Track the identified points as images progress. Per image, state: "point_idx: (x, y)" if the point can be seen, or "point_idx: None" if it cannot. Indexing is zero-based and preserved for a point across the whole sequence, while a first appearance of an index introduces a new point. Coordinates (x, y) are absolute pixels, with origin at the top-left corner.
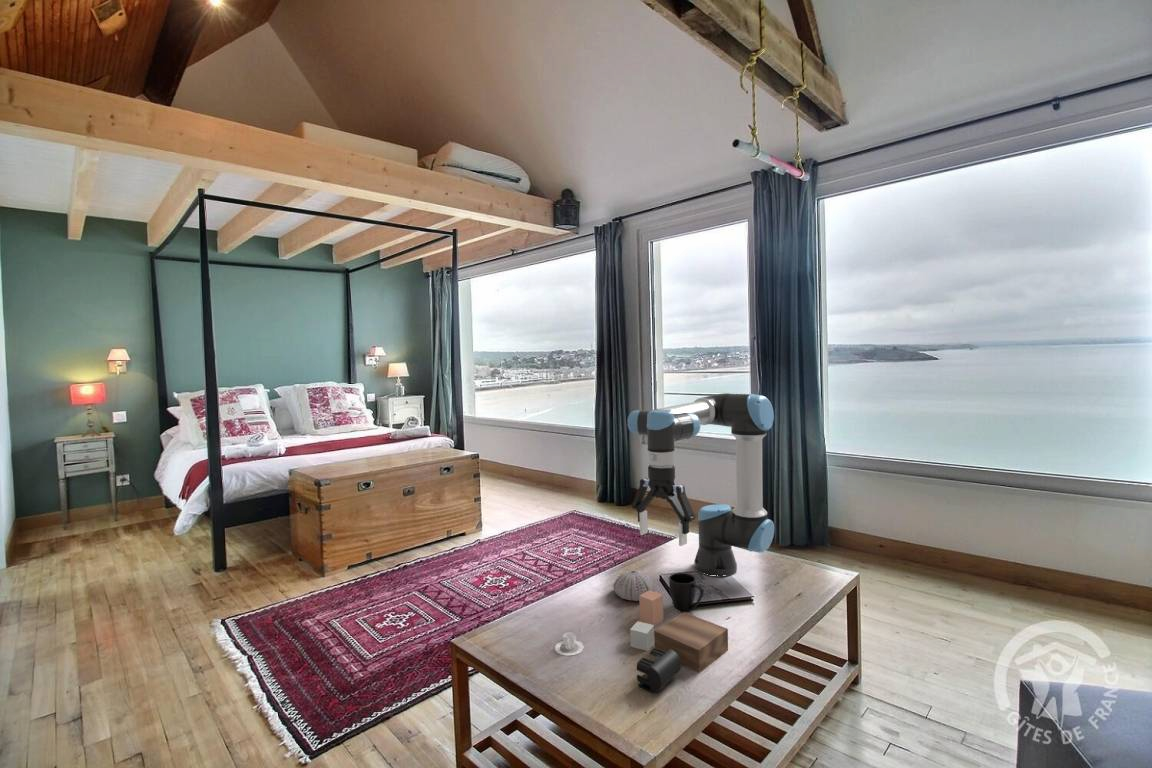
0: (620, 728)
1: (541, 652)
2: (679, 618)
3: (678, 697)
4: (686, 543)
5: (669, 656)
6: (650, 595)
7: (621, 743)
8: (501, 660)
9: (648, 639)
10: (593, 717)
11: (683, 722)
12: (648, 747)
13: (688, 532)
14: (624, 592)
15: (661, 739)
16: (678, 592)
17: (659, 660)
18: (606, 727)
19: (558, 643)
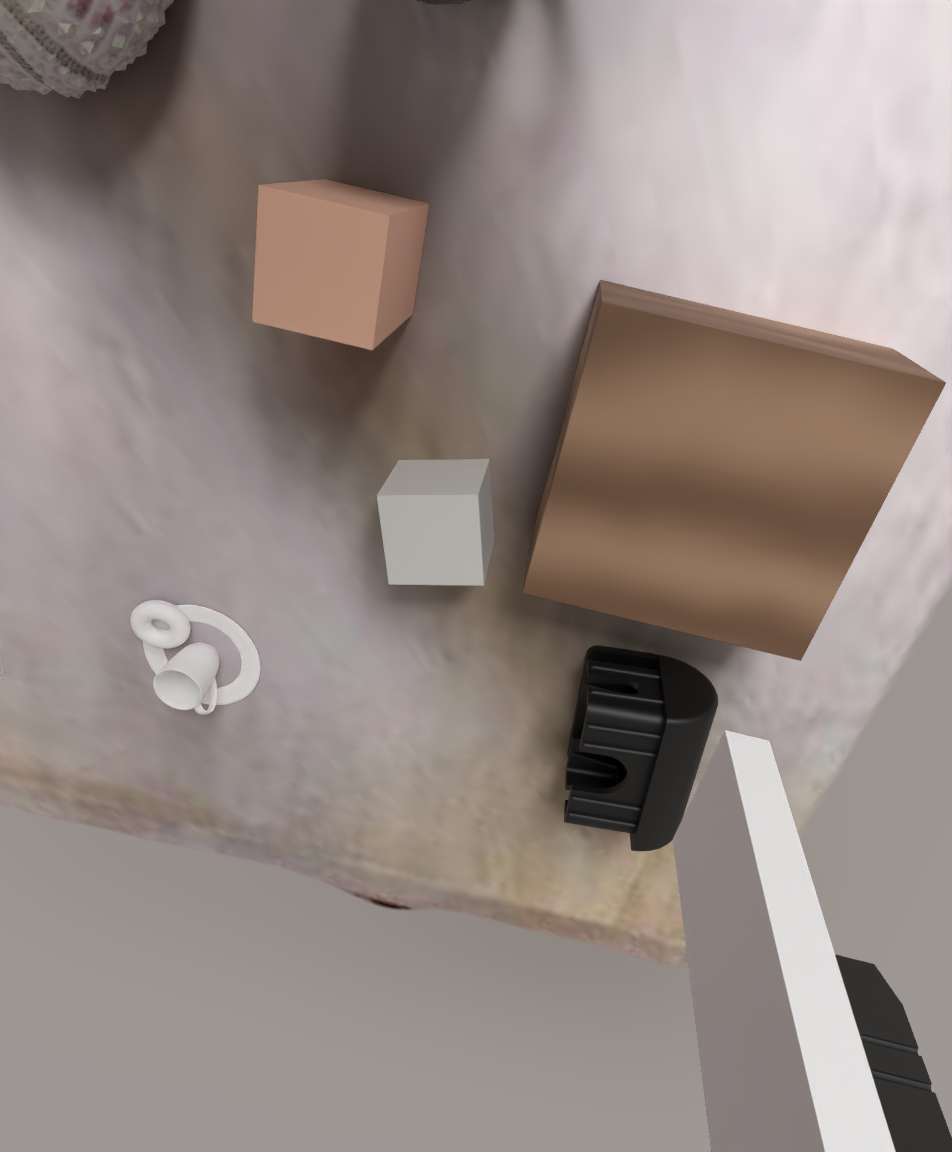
0: (603, 910)
1: (145, 717)
2: (603, 403)
3: None
4: (764, 752)
5: (679, 762)
6: (316, 278)
7: (630, 947)
8: (84, 796)
9: (487, 549)
10: (511, 900)
11: None
12: None
13: (880, 977)
14: (42, 86)
15: None
16: (451, 2)
17: (651, 806)
18: (565, 917)
19: (147, 651)
